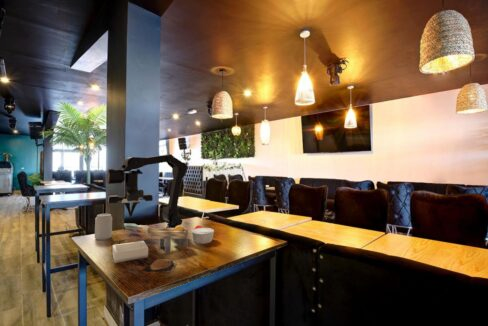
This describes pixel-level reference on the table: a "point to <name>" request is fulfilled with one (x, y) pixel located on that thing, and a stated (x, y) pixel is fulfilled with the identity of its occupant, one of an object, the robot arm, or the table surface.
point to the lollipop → (200, 223)
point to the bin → (129, 251)
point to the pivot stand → (167, 244)
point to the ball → (178, 228)
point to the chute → (162, 233)
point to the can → (103, 226)
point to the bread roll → (160, 266)
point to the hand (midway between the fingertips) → (130, 216)
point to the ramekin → (202, 235)
